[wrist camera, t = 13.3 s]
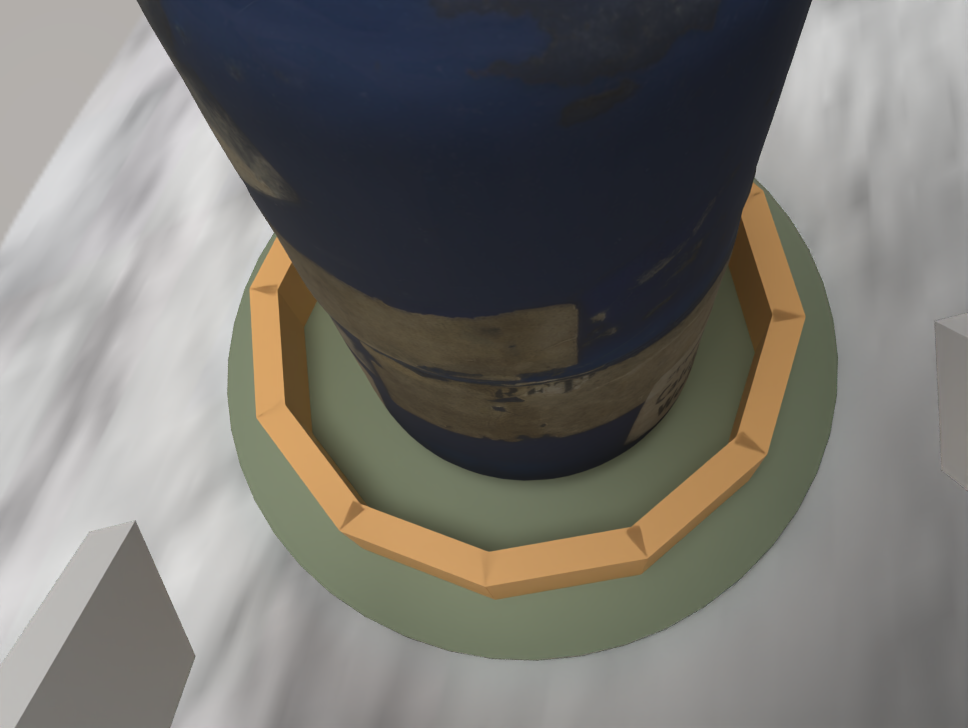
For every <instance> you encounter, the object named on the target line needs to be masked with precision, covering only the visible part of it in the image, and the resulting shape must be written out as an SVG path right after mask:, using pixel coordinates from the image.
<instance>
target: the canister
mask: <svg viewBox="0 0 968 728" xmlns="http://www.w3.org/2000/svg"><path fill="white" fill-rule="evenodd" d="M137 2H138V3H139V5H140V7H141V9H142V11H143V13H144V15H145V17H146V18H147V20H148V22H149V24H150V25H151V27H152V29H153V30H154V32H155V34H156V36H157V37H158V39H159V41H160V42H161V44H162V46H163V47H164V49H165V51H166V52H167V54H168V56H169V57H170V59H171V61H172V62H173V64H174V66H175V67H176V69H177V71H178V72H179V74H180V75H181V77H182V79H183V80H184V82H185V84H186V86H187V88H188V89H189V91H190V93H191V95H192V96H193V98H194V100H195V102H196V103H197V105H198V107H199V109H200V111H201V112H202V114H203V116H204V118H205V119H206V121H207V123H208V125H209V126H210V128H211V130H212V131H213V133H214V135H215V137H216V138H217V140H218V142H219V143H220V145H221V147H222V148H223V150H224V152H225V153H226V155H227V157H228V158H229V160H230V162H231V163H232V165H233V167H234V168H235V170H236V171H237V173H238V174H239V176H240V177H241V179H242V180H243V182H244V184H245V185H246V187H247V189H248V191H249V193H250V195H251V197H252V198H253V200H254V201H255V203H256V205H257V206H258V208H259V209H260V211H261V213H262V214H263V216H264V217H265V219H266V220H267V222H268V223H269V225H270V227H271V228H272V230H273V231H274V233H275V234H276V236H277V238H278V239H279V241H280V243H281V245H282V246H283V248H284V250H285V251H286V253H287V255H288V256H289V258H290V260H291V262H292V263H293V265H294V267H295V268H296V270H297V272H298V274H299V275H300V277H301V279H302V280H303V282H304V283H305V285H306V287H307V288H308V289H309V291H310V292H311V294H312V295H313V297H314V298H315V299H316V300H317V301H318V303H319V304H320V305H321V306H322V307H323V309H324V310H325V311H326V312H327V313H328V314H329V316H330V317H331V319H332V321H333V323H334V324H335V326H336V328H337V329H338V331H339V333H340V334H341V336H342V337H343V339H344V341H345V343H346V345H347V346H348V348H349V349H350V351H351V353H352V354H353V356H354V358H355V359H356V361H357V362H358V364H359V366H360V367H361V369H362V370H363V372H364V374H365V375H366V377H367V379H368V380H369V382H370V384H371V386H372V387H373V389H374V391H375V392H376V394H377V395H378V397H379V398H380V400H381V401H382V403H383V404H384V406H385V407H386V409H387V410H388V411H389V413H390V414H391V415H392V417H393V418H394V419H395V420H396V421H397V422H398V423H399V424H400V426H401V427H402V428H403V429H404V430H405V431H406V432H407V433H408V434H409V435H410V436H411V437H412V438H414V439H415V440H416V441H417V442H418V443H420V444H421V445H422V446H423V447H425V448H426V449H428V450H429V451H431V452H432V453H434V454H435V455H437V456H438V457H440V458H442V459H443V460H445V461H447V462H450V463H452V464H454V465H456V466H459V467H461V468H464V469H466V470H469V471H472V472H475V473H478V474H481V475H485V476H490V477H495V478H500V479H508V480H522V481H529V480H547V479H554V478H560V477H565V476H570V475H574V474H577V473H581V472H584V471H587V470H589V469H592V468H595V467H597V466H600V465H602V464H604V463H606V462H608V461H610V460H612V459H614V458H616V457H617V456H619V455H621V454H622V453H624V452H626V451H627V450H629V449H630V448H631V447H633V446H634V445H636V444H637V443H638V442H639V441H641V440H642V439H643V438H644V437H645V436H646V435H647V434H648V433H649V432H650V431H651V430H652V429H654V428H655V427H656V426H657V424H658V423H659V422H660V421H661V420H662V419H663V418H664V417H665V415H666V414H667V413H668V411H669V410H670V409H671V407H672V406H673V404H674V403H675V401H676V400H677V398H678V396H679V395H680V393H681V391H682V389H683V387H684V385H685V383H686V381H687V379H688V376H689V374H690V371H691V369H692V366H693V363H694V360H695V357H696V354H697V350H698V347H699V343H700V340H701V337H702V334H703V332H704V329H705V326H706V324H707V321H708V319H709V316H710V313H711V311H712V307H713V304H714V301H715V298H716V295H717V292H718V289H719V287H720V284H721V281H722V278H723V276H724V273H725V271H726V269H727V267H728V264H729V261H730V258H731V255H732V251H733V247H734V244H735V241H736V237H737V233H738V228H739V224H740V220H741V215H742V211H743V208H744V206H745V203H746V201H747V199H748V196H749V194H750V192H751V188H752V184H753V180H754V177H755V173H756V166H757V163H758V160H759V157H760V154H761V151H762V148H763V145H764V142H765V139H766V136H767V134H768V131H769V128H770V125H771V122H772V119H773V116H774V113H775V110H776V107H777V104H778V101H779V98H780V95H781V92H782V89H783V86H784V83H785V80H786V76H787V74H788V71H789V68H790V65H791V62H792V59H793V56H794V53H795V50H796V47H797V44H798V41H799V38H800V35H801V32H802V29H803V26H804V23H805V20H806V17H807V14H808V11H809V8H810V5H811V2H812V0H137Z"/></svg>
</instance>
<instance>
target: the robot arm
mask: <svg viewBox="0 0 968 728" xmlns="http://www.w3.org/2000/svg"><path fill="white" fill-rule="evenodd" d="M935 342H936V363H937V384H938V405H939V426H940V447H941V468H942V471H943V472H944V473H945V474H947V475H948V476H949V477H950V478H952V479H953V480H954V481H955V482H957V483H958V484H959V485H960V486H962V487H963V488H964V489H966V490H967V491H968V313H964V314H960V315H956V316H952V317H948V318H944V319H940V320H936V321H935ZM194 659H195V654H194V652H193V649H192V647H191V645H190V643H189V640H188V638H187V636H186V634H185V631H184V629H183V627H182V624H181V622H180V620H179V618H178V615H177V613H176V611H175V609H174V606H173V604H172V602H171V600H170V597H169V595H168V593H167V591H166V588H165V586H164V584H163V582H162V579H161V577H160V575H159V573H158V570H157V568H156V566H155V564H154V561H153V559H152V557H151V554H150V552H149V550H148V548H147V545H146V543H145V541H144V539H143V536H142V534H141V532H140V530H139V527H138V525H137V523H136V521H131V522H127V523H123V524H119V525H115V526H111V527H107V528H103V529H99V530H95V531H91V532H89V533H88V534H87V536H86V537H85V539H84V540H83V542H82V543H81V545H80V546H79V548H78V549H77V551H76V552H75V554H74V556H73V557H72V559H71V560H70V562H69V563H68V565H67V566H66V568H65V569H64V571H63V572H62V574H61V575H60V577H59V578H58V580H57V581H56V583H55V584H54V586H53V587H52V589H51V590H50V592H49V593H48V595H47V596H46V598H45V599H44V601H43V602H42V604H41V605H40V607H39V608H38V610H37V611H36V613H35V614H34V616H33V617H32V619H31V620H30V622H29V623H28V625H27V626H26V628H25V629H24V631H23V632H22V634H21V635H20V637H19V638H18V640H17V641H16V643H15V644H14V646H13V647H12V649H11V650H10V652H9V653H8V655H7V656H6V658H5V659H4V661H3V662H2V664H1V665H0V728H170V727H171V724H172V721H173V718H174V715H175V713H176V710H177V707H178V704H179V701H180V698H181V696H182V693H183V690H184V687H185V684H186V681H187V679H188V676H189V673H190V670H191V667H192V664H193V662H194Z"/></svg>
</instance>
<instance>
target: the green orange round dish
mask: <svg viewBox="0 0 968 728" xmlns="http://www.w3.org/2000/svg"><path fill="white" fill-rule="evenodd" d="M837 367H838V355H837V347H836V338H835V330H834V322H833V317H832V313H831V309H830V306H829V302H828V298H827V295H826V291H825V287H824V284H823V281H822V279H821V277H820V274H819V272H818V270H817V267H816V265H815V263H814V260H813V258H812V256H811V253H810V251H809V249H808V247H807V246H806V244H805V242H804V241H803V239H802V238H801V236H800V234H799V233H798V231H797V229H796V228H795V226H794V224H793V223H792V221H791V219H790V218H789V217H788V215H787V214H786V213H785V212H784V210H783V209H782V208H781V207H780V206H779V204H778V203H777V202H776V201H775V199H774V198H773V197H772V196H771V194H770V193H769V192H768V191H767V190H766V189H765V188H764V187H763V186H762V185H761V184H760V183H759V182H758V181H757V180H756V179H755V178H754V180H753V184H752V188H751V192H750V194H749V196H748V199H747V201H746V203H745V206H744V208H743V211H742V215H741V220H740V224H739V228H738V233H737V237H736V241H735V244H734V247H733V251H732V255H731V258H730V261H729V264H728V267H727V269H726V271H725V273H724V276H723V278H722V281H721V284H720V287H719V289H718V292H717V295H716V298H715V301H714V304H713V307H712V311H711V313H710V316H709V319H708V321H707V324H706V326H705V329H704V332H703V334H702V337H701V340H700V343H699V347H698V350H697V354H696V357H695V360H694V363H693V366H692V369H691V371H690V374H689V376H688V379H687V381H686V383H685V385H684V387H683V389H682V391H681V393H680V395H679V396H678V398H677V400H676V401H675V403H674V404H673V406H672V407H671V409H670V410H669V411H668V413H667V414H666V415H665V417H664V418H663V419H662V420H661V421H660V422H659V423H658V424H657V426H656V427H655V428H654V429H652V430H651V431H650V432H649V433H648V434H647V435H646V436H645V437H644V438H643V439H642V440H641V441H639V442H638V443H637V444H636V445H634V446H633V447H631V448H630V449H629V450H627V451H626V452H624V453H622V454H621V455H619V456H617V457H616V458H614V459H612V460H610V461H608V462H606V463H604V464H602V465H600V466H597V467H595V468H592V469H589V470H587V471H584V472H581V473H577V474H574V475H570V476H565V477H560V478H554V479H547V480H529V481H522V480H508V479H500V478H495V477H490V476H485V475H481V474H478V473H475V472H472V471H469V470H466V469H464V468H461V467H459V466H456V465H454V464H452V463H450V462H447V461H445V460H443V459H442V458H440V457H438V456H437V455H435V454H434V453H432V452H431V451H429V450H428V449H426V448H425V447H423V446H422V445H421V444H420V443H418V442H417V441H416V440H415V439H414V438H412V437H411V436H410V435H409V434H408V433H407V432H406V431H405V430H404V429H403V428H402V427H401V426H400V424H399V423H398V422H397V421H396V420H395V419H394V418H393V417H392V415H391V414H390V413H389V411H388V410H387V409H386V407H385V406H384V404H383V403H382V401H381V400H380V398H379V397H378V395H377V394H376V392H375V391H374V389H373V387H372V386H371V384H370V382H369V380H368V379H367V377H366V375H365V374H364V372H363V370H362V369H361V367H360V366H359V364H358V362H357V361H356V359H355V358H354V356H353V354H352V353H351V351H350V349H349V348H348V346H347V345H346V343H345V341H344V339H343V337H342V336H341V334H340V333H339V331H338V329H337V328H336V326H335V324H334V323H333V321H332V319H331V317H330V316H329V314H328V313H327V312H326V311H325V310H324V309H323V307H322V306H321V305H320V304H319V303H318V301H317V300H316V299H315V298H314V297H313V295H312V294H311V292H310V291H309V289H308V288H307V287H306V285H305V283H304V282H303V280H302V279H301V277H300V275H299V274H298V272H297V270H296V268H295V267H294V265H293V263H292V262H291V260H290V258H289V256H288V255H287V253H286V251H285V250H284V248H283V246H282V245H281V243H280V241H279V239H278V238H277V236H276V234H275V233H274V234H273V235H272V237H271V239H270V240H269V242H268V244H267V245H266V247H265V249H264V250H263V252H262V254H261V255H260V257H259V259H258V261H257V263H256V265H255V267H254V270H253V272H252V274H251V276H250V279H249V281H248V283H247V285H246V287H245V290H244V293H243V296H242V299H241V303H240V306H239V309H238V312H237V316H236V319H235V322H234V328H233V334H232V340H231V346H230V352H229V358H228V388H227V395H228V405H229V414H230V423H231V431H232V435H233V439H234V443H235V446H236V450H237V454H238V458H239V462H240V466H241V468H242V471H243V473H244V476H245V478H246V480H247V483H248V485H249V488H250V490H251V492H252V495H253V497H254V500H255V502H256V503H257V505H258V507H259V508H260V510H261V512H262V513H263V515H264V517H265V518H266V520H267V522H268V523H269V525H270V527H271V528H272V530H273V532H274V534H275V535H276V536H277V537H278V539H279V540H280V541H281V542H282V543H283V545H284V546H285V547H286V548H287V550H288V551H289V552H290V553H291V555H292V556H293V557H294V558H295V559H296V561H297V562H298V563H299V564H300V565H301V566H302V567H303V568H304V569H305V570H306V571H307V572H308V573H309V574H310V575H311V576H313V577H314V578H315V579H316V580H317V581H318V582H319V583H320V584H321V585H322V586H323V587H325V588H326V589H327V590H328V591H329V592H330V593H331V594H333V595H334V596H336V597H337V598H339V599H340V600H342V601H343V602H345V603H346V604H348V605H349V606H350V607H352V608H353V609H355V610H356V611H358V612H359V613H361V614H362V615H364V616H365V617H367V618H369V619H371V620H373V621H375V622H377V623H379V624H381V625H383V626H386V627H388V628H390V629H392V630H394V631H396V632H398V633H400V634H402V635H404V636H406V637H408V638H411V639H414V640H417V641H420V642H423V643H426V644H429V645H432V646H435V647H439V648H442V649H445V650H448V651H452V652H457V653H463V654H468V655H474V656H480V657H485V658H491V659H510V660H536V661H537V660H547V659H557V658H567V657H577V656H583V655H587V654H591V653H595V652H600V651H604V650H608V649H612V648H616V647H620V646H624V645H627V644H629V643H632V642H634V641H637V640H639V639H642V638H644V637H647V636H649V635H652V634H654V633H657V632H659V631H662V630H665V629H666V628H668V627H670V626H672V625H673V624H675V623H677V622H679V621H680V620H682V619H684V618H686V617H688V616H689V615H691V614H693V613H695V612H696V611H698V610H700V609H702V608H703V607H705V606H706V605H707V604H708V603H710V602H711V601H712V600H714V599H715V598H716V597H717V596H719V595H720V594H721V593H723V592H724V591H725V590H727V589H728V588H729V587H730V586H732V585H733V584H734V583H736V582H737V581H738V580H739V579H740V578H741V577H743V576H744V574H745V573H746V572H747V571H748V570H749V569H750V568H751V567H752V566H753V565H754V564H755V563H756V562H757V561H758V560H759V559H760V558H761V557H762V556H763V555H764V554H765V553H766V552H767V551H768V550H769V549H770V548H771V547H772V546H773V544H774V543H775V541H776V540H777V539H778V537H779V536H780V534H781V533H782V532H783V530H784V529H785V527H786V526H787V525H788V523H789V522H790V521H791V519H792V518H793V516H794V515H795V514H796V512H797V511H798V509H799V507H800V505H801V503H802V501H803V499H804V497H805V495H806V493H807V491H808V489H809V487H810V486H811V484H812V482H813V480H814V478H815V476H816V474H817V471H818V468H819V465H820V462H821V459H822V456H823V453H824V450H825V447H826V445H827V442H828V439H829V436H830V431H831V425H832V419H833V414H834V408H835V403H836V397H837Z"/></svg>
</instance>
